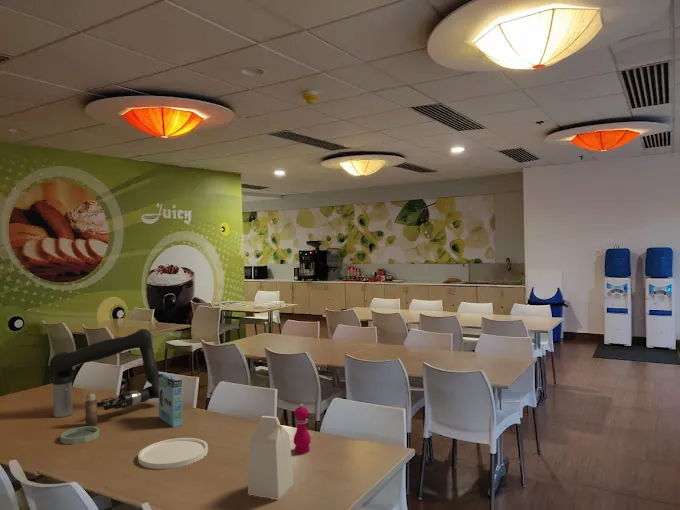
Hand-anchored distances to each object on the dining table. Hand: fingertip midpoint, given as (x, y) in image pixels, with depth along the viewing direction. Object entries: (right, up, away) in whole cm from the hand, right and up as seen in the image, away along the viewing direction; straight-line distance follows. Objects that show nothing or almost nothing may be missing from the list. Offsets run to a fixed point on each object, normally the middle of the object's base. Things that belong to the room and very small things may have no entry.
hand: (100, 406), depth 259 cm
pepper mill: (+106, -6, -44) cm, 115 cm away
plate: (+52, -8, -44) cm, 69 cm away
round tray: (+1, -8, -21) cm, 23 cm away
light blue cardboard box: (+37, -7, -2) cm, 37 cm away
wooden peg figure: (-2, -8, -4) cm, 9 cm away
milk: (+98, -6, -78) cm, 125 cm away
